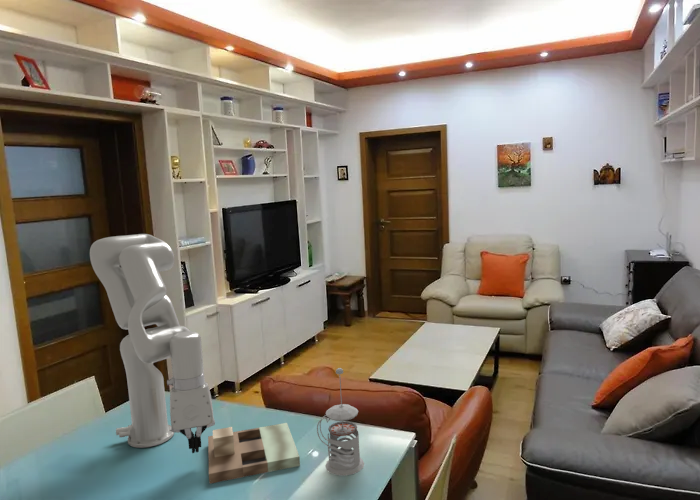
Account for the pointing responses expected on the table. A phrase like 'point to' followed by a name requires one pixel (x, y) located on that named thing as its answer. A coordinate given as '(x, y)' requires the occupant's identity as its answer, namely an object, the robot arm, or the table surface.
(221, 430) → the maple block
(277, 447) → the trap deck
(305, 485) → the table surface
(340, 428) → the french press
